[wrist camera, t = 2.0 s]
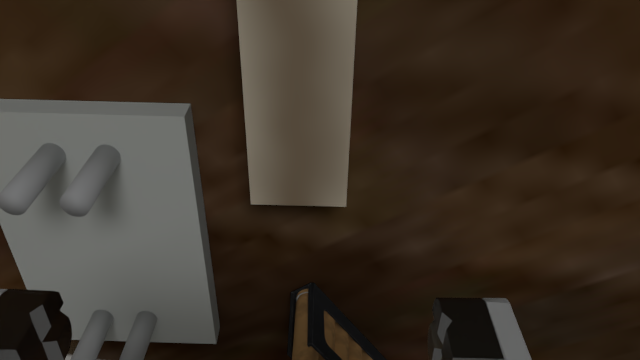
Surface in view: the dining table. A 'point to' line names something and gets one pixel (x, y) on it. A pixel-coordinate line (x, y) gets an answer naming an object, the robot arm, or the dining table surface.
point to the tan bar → (297, 98)
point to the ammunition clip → (323, 330)
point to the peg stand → (110, 219)
